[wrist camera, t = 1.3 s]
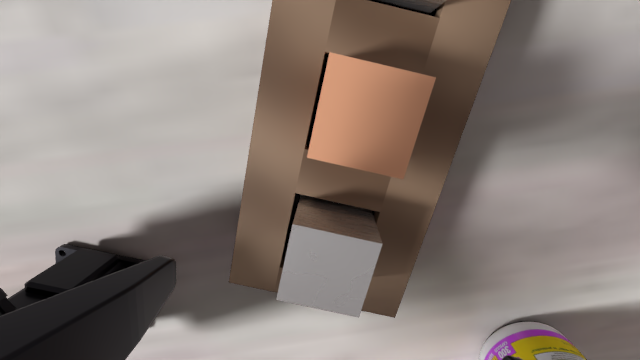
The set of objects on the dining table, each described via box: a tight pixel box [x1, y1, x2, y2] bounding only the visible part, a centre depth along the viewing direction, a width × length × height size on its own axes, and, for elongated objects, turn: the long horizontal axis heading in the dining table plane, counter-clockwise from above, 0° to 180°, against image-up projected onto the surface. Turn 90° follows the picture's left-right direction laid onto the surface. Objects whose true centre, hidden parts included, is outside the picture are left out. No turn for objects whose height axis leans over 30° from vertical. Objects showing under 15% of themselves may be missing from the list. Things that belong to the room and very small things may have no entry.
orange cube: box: [307, 52, 436, 179], centre depth 13 cm, size 4×4×4 cm
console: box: [229, 0, 511, 318], centre depth 16 cm, size 22×10×4 cm, turn 167°
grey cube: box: [276, 195, 382, 317], centre depth 15 cm, size 4×4×4 cm
